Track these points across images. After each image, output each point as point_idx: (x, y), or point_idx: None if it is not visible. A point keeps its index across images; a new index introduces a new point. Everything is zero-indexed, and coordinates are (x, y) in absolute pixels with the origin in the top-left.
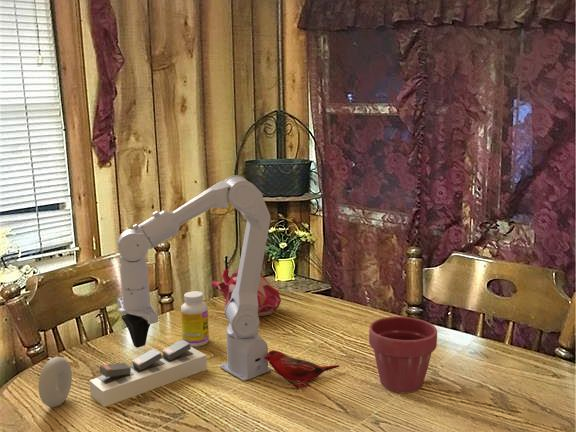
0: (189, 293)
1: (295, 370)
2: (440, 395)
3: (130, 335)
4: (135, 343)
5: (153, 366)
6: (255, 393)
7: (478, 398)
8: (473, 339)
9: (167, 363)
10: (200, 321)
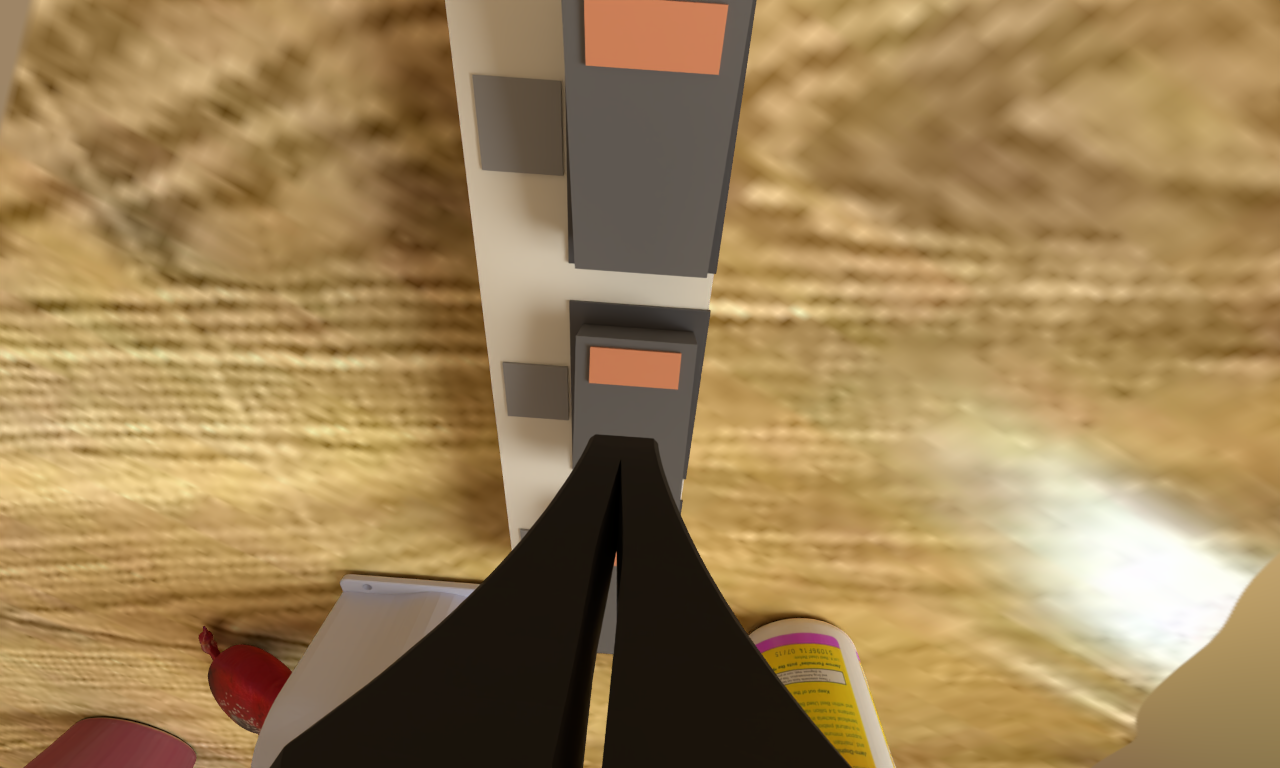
0: None
1: (213, 691)
2: (44, 742)
3: (676, 515)
4: (582, 458)
5: None
6: (233, 546)
7: (8, 760)
8: None
9: (566, 479)
10: None
